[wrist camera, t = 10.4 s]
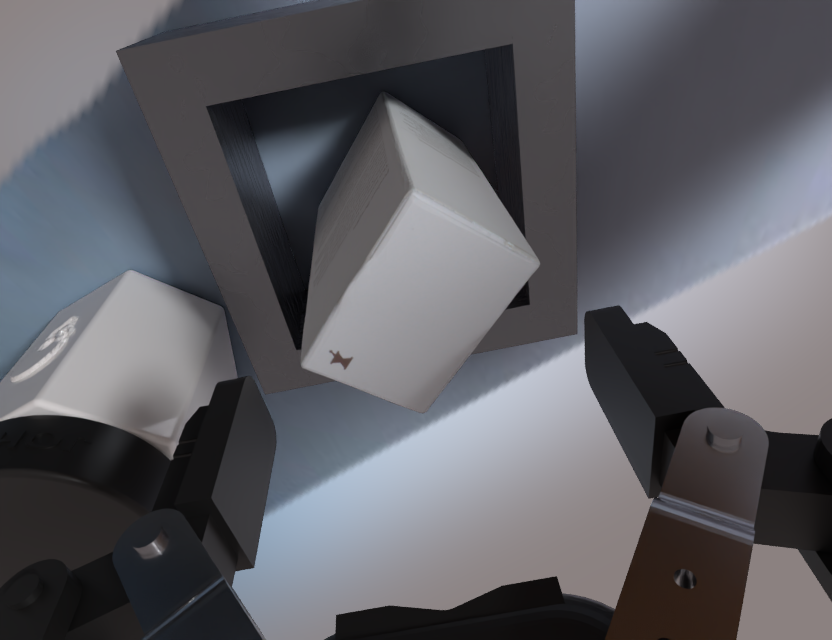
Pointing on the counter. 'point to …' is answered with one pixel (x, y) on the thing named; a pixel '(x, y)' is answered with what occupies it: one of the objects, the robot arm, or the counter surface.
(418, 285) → the skincare box
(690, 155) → the counter surface
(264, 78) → the socket block
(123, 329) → the jar
